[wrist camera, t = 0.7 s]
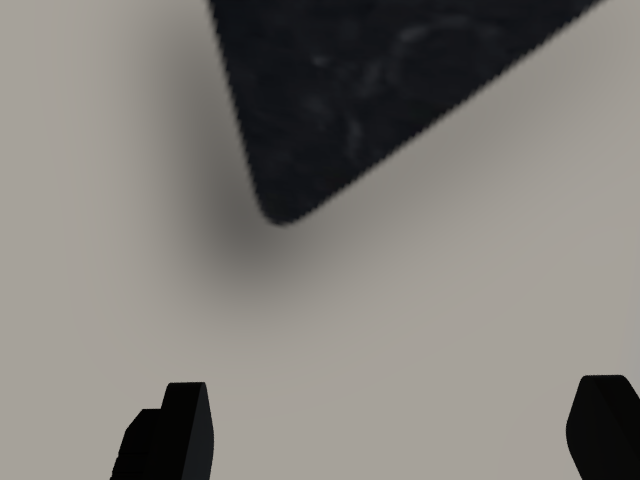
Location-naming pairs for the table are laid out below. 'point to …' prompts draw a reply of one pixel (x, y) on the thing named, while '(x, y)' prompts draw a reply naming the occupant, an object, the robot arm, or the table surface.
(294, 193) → the table surface
